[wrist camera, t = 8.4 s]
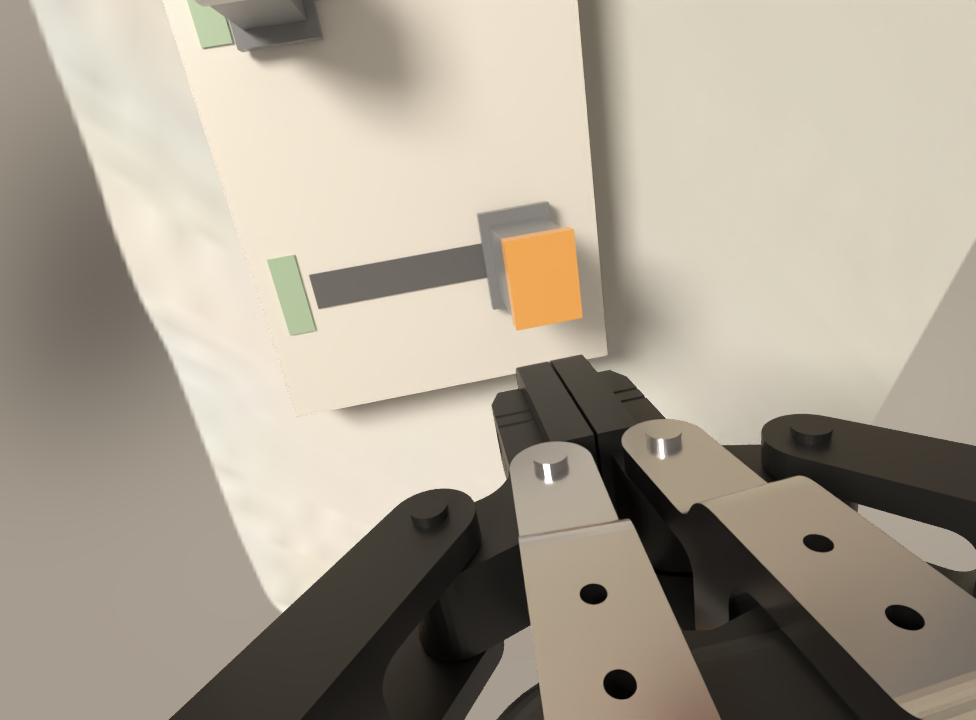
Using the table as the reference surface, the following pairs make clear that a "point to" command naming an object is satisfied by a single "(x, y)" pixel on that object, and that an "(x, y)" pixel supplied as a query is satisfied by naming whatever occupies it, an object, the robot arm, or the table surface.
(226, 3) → the on lever
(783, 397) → the table surface
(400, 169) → the switch box
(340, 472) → the table surface
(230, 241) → the table surface
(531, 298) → the orange and grey block
